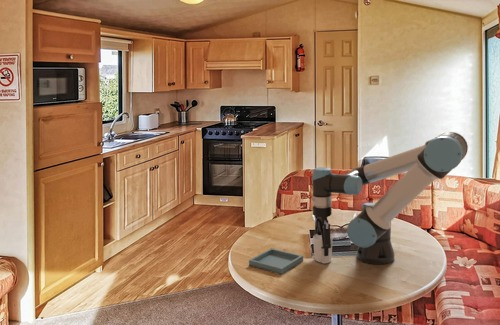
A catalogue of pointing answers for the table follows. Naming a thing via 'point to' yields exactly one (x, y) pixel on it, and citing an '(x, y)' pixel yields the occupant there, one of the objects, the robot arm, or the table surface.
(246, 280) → the table surface
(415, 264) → the table surface
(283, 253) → the slate tray
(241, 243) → the table surface
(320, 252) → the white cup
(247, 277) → the table surface
